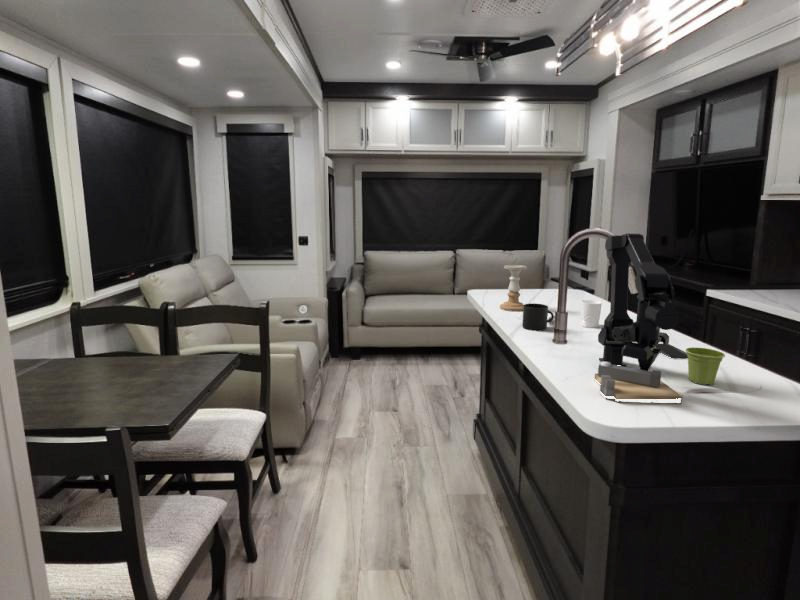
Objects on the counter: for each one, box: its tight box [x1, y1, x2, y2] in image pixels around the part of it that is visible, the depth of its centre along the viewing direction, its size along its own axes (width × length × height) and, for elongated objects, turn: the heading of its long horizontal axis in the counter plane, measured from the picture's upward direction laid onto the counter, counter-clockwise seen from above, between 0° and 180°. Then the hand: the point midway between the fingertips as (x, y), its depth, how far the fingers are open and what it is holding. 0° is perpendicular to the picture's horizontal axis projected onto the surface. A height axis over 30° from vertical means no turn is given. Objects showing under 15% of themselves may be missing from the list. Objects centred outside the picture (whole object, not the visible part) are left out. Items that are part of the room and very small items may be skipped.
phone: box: [654, 343, 688, 359], centre depth 169 cm, size 8×1×15 cm
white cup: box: [580, 299, 603, 329], centre depth 203 cm, size 8×8×10 cm
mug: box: [522, 303, 554, 332], centre depth 199 cm, size 9×12×9 cm
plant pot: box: [685, 346, 726, 385], centre depth 140 cm, size 9×9×9 cm
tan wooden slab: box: [594, 373, 683, 399], centre depth 133 cm, size 16×18×5 cm
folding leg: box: [597, 361, 662, 388], centre depth 135 cm, size 15×3×4 cm, turn 55°
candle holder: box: [499, 264, 528, 312], centre depth 235 cm, size 12×12×20 cm
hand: (643, 374), depth 135 cm, fingers closed
